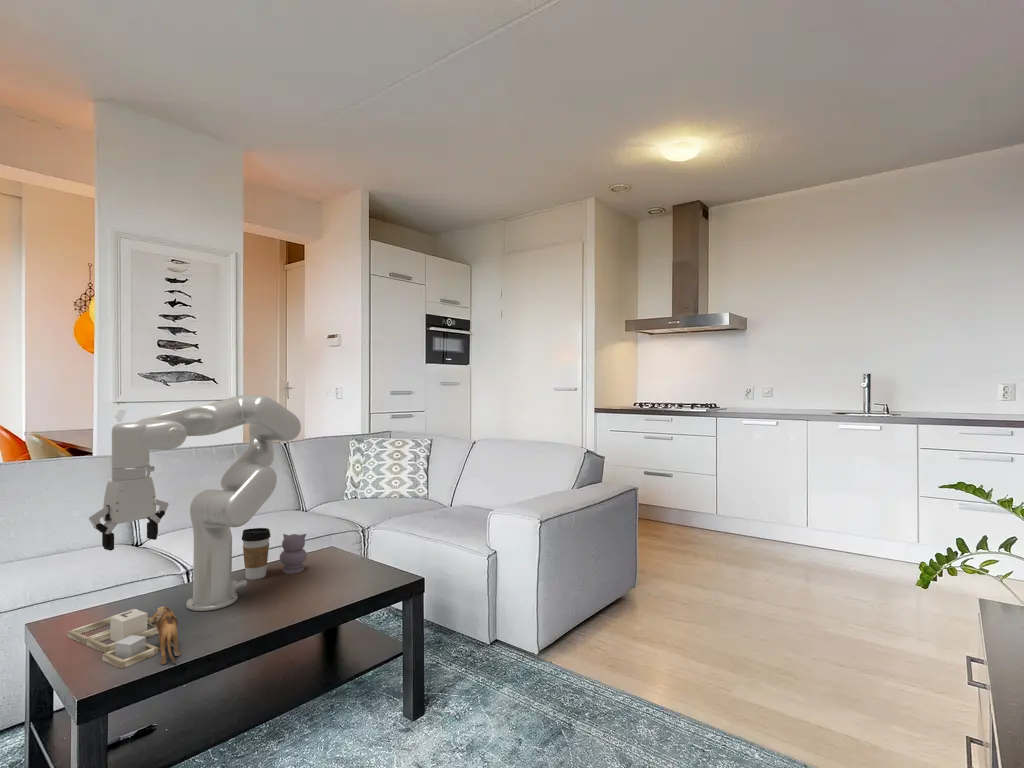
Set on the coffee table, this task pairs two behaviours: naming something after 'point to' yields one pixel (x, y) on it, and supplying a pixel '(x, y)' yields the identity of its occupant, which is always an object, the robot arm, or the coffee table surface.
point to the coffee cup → (255, 552)
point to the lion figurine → (166, 631)
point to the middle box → (96, 642)
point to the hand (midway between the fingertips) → (131, 544)
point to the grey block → (130, 646)
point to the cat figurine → (293, 553)
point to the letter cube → (127, 624)
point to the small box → (121, 663)
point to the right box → (77, 633)
